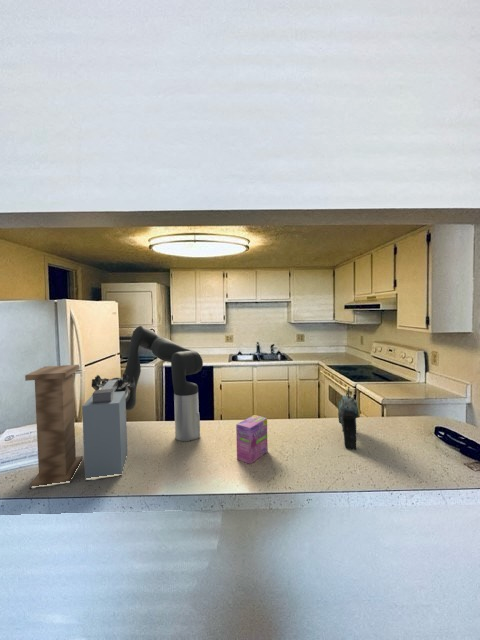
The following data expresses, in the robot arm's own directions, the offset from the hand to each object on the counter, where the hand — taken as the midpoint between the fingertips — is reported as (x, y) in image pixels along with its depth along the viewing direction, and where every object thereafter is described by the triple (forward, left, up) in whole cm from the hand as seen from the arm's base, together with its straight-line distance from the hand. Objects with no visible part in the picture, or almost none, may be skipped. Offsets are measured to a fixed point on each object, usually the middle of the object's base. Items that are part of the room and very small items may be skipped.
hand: (110, 377), depth 105 cm
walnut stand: (+14, +11, -26) cm, 32 cm away
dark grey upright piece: (-83, +15, -27) cm, 88 cm away
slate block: (0, +11, -26) cm, 28 cm away
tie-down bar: (0, +5, -4) cm, 7 cm away
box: (-46, +17, -27) cm, 56 cm away
